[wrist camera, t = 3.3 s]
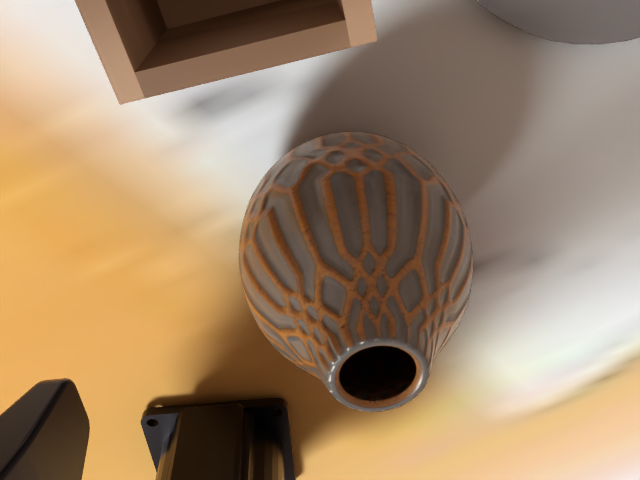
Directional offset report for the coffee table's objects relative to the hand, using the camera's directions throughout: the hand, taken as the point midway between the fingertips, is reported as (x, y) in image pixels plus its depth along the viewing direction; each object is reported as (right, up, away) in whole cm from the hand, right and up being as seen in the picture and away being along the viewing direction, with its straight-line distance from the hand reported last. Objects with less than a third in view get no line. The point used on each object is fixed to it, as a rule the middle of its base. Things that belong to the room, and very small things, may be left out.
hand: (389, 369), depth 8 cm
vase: (0, +3, +12) cm, 13 cm away
